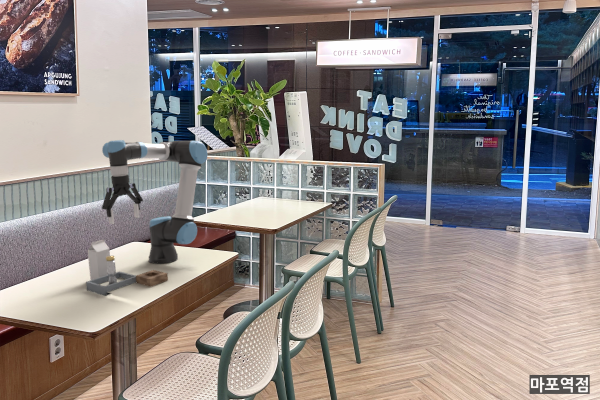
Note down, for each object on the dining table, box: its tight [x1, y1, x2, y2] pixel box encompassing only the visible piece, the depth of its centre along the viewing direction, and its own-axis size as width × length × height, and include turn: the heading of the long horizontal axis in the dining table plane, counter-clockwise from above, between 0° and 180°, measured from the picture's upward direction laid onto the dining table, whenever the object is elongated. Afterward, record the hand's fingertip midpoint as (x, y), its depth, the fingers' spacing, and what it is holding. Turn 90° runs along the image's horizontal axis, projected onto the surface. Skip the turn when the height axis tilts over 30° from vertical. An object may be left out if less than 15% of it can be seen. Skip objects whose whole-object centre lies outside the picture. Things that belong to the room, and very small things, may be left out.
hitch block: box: [135, 269, 169, 288], centre depth 251 cm, size 10×10×5 cm
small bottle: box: [106, 255, 118, 285], centre depth 248 cm, size 4×4×14 cm
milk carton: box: [87, 239, 111, 281], centre depth 260 cm, size 7×7×19 cm
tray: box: [85, 270, 137, 297], centre depth 249 cm, size 18×14×4 cm
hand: (124, 220), depth 249 cm, fingers open, 13 cm apart
